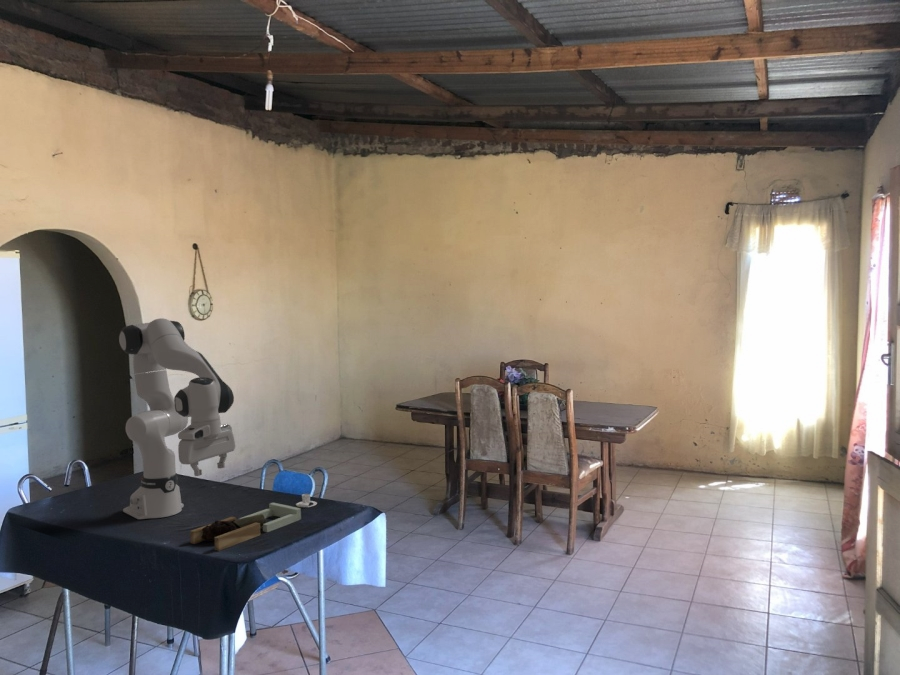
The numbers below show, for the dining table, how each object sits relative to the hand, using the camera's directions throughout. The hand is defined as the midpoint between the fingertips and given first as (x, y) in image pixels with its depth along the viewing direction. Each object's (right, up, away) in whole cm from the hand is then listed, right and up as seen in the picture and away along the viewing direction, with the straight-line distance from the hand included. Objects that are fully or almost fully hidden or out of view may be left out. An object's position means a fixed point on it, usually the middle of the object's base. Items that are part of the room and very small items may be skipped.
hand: (209, 471), depth 221 cm
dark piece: (+4, -24, +11) cm, 27 cm away
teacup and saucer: (+18, -22, +45) cm, 53 cm away
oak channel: (+2, -24, +8) cm, 26 cm away
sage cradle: (+12, -23, +24) cm, 35 cm away
